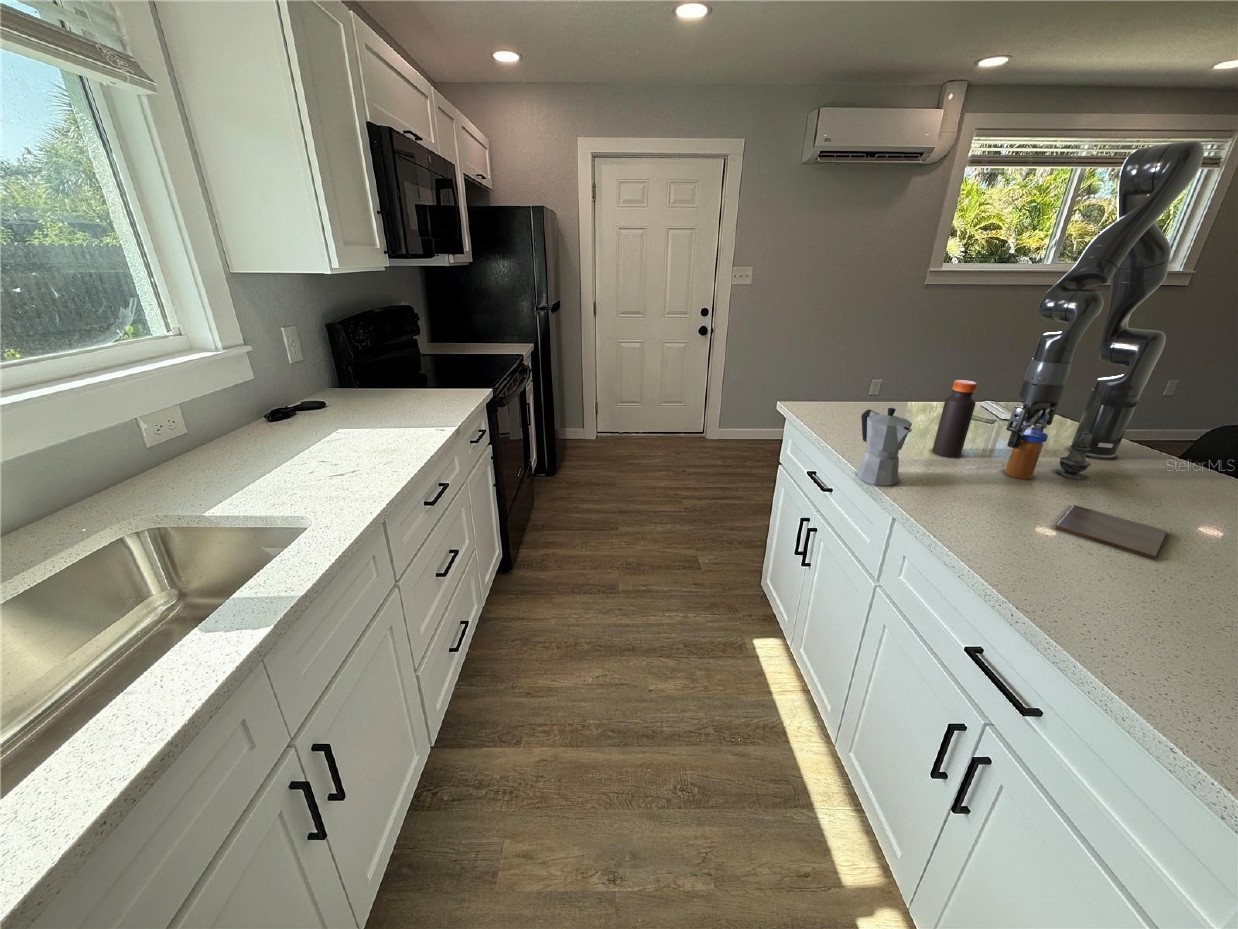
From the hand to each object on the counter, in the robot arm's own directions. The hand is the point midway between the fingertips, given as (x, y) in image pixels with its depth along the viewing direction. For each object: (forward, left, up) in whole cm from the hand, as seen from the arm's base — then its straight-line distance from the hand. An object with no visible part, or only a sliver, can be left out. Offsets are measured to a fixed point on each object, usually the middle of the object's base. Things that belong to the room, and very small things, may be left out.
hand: (1022, 444), depth 120 cm
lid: (0, +1, +3) cm, 3 cm away
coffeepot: (+29, -21, -8) cm, 37 cm away
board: (+19, +21, -8) cm, 30 cm away
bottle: (-2, -16, -8) cm, 18 cm away
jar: (0, +1, -8) cm, 8 cm away
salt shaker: (-10, +9, -8) cm, 15 cm away
